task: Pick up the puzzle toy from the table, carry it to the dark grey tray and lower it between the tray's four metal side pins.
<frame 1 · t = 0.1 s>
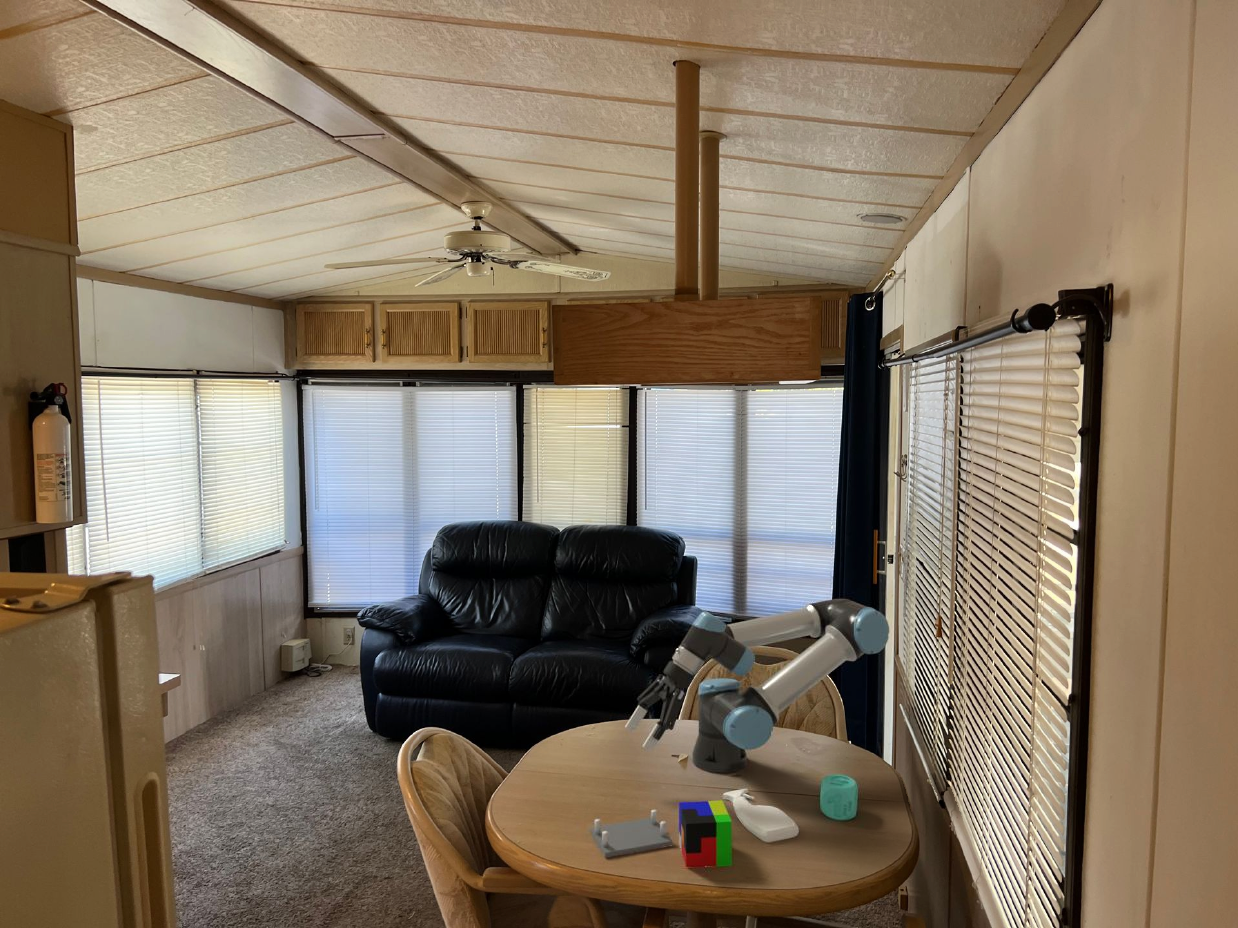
hand: (637, 739, 219), 15 cm above the table, tool tilted 35°, fingers open, 13 cm apart
pin tray: (630, 838, 200), on the table
puzzle toy: (704, 855, 193), on the table
decorative dice: (838, 813, 212), on the table
spray bottle: (756, 818, 210), on the table
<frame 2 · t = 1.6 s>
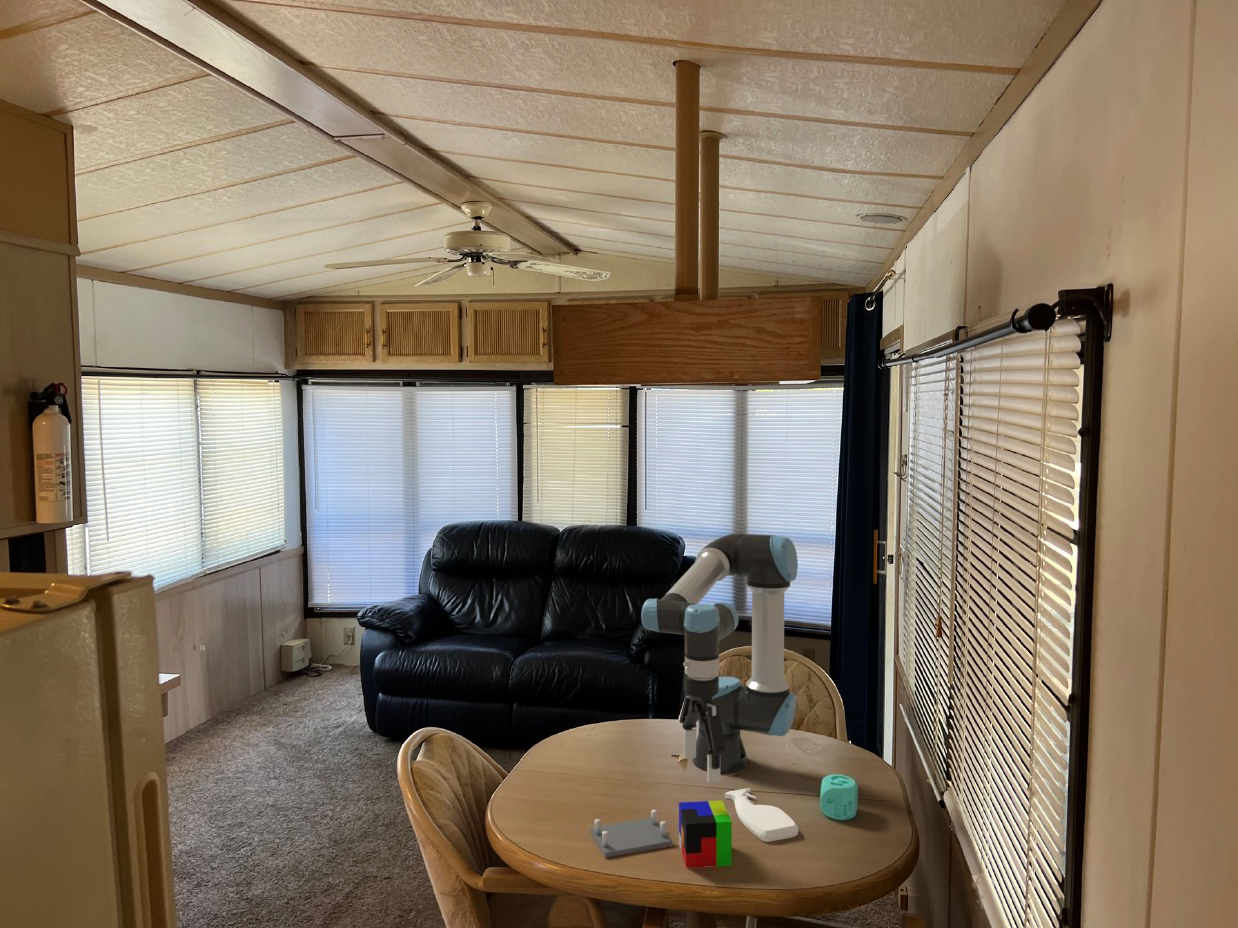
hand: (701, 769, 192), 19 cm above the table, tool pointing down, fingers open, 13 cm apart
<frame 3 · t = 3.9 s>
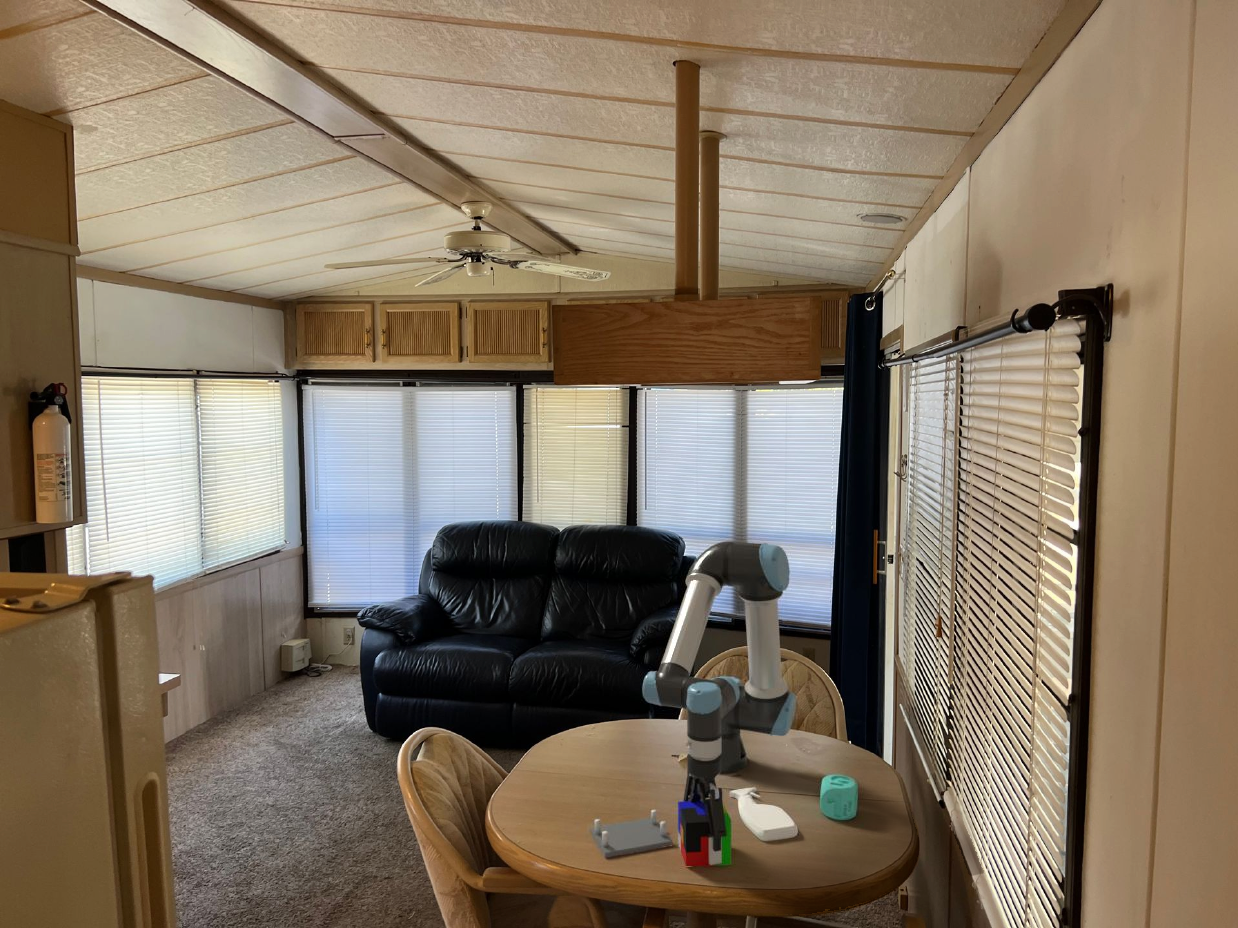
hand: (704, 849, 193), 1 cm above the table, tool pointing down, fingers closed on puzzle toy, 11 cm apart
puzzle toy: (704, 854, 193), on the table, touching gripper
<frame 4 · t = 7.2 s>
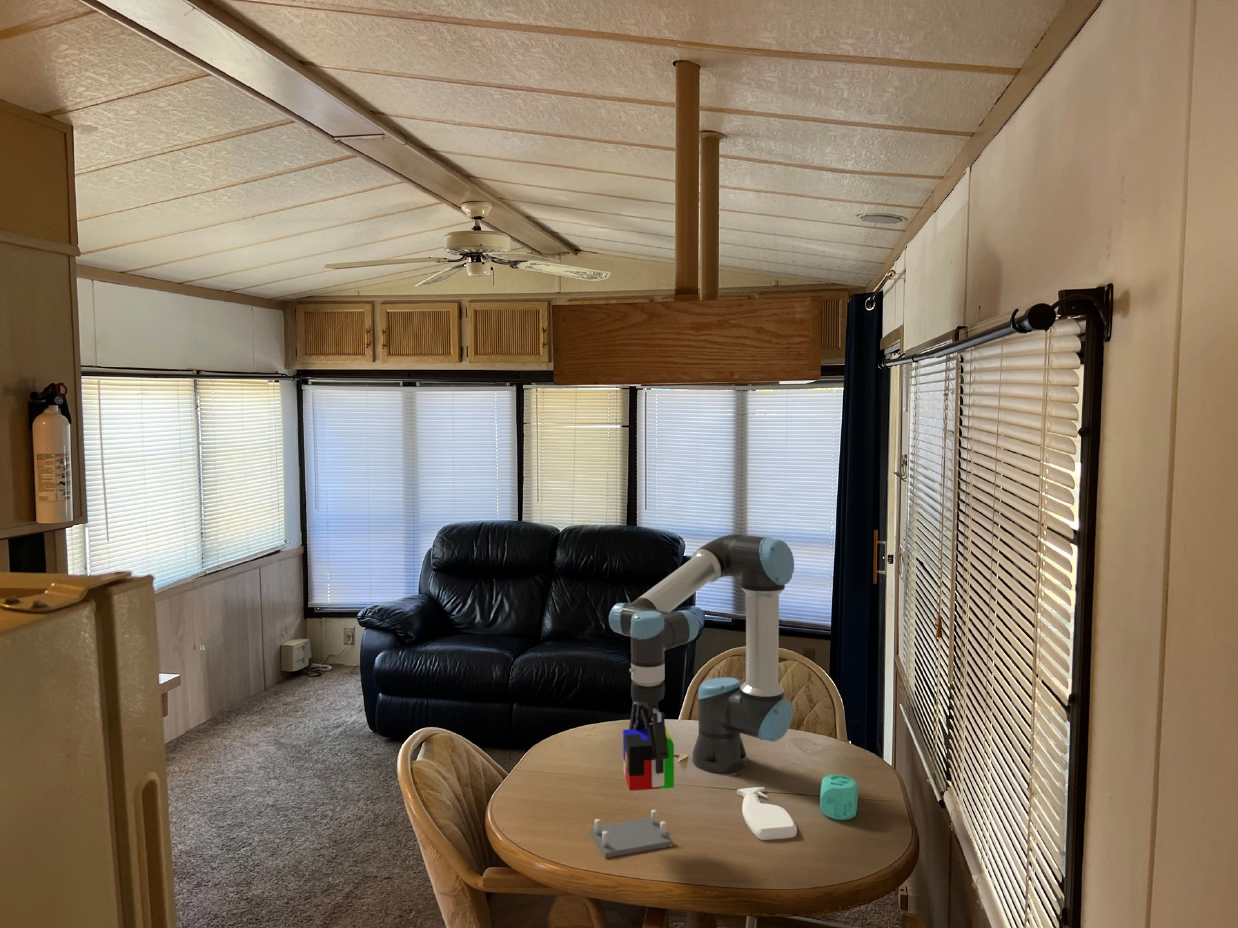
hand: (648, 775, 197), 16 cm above the table, tool pointing down, fingers closed on puzzle toy, 11 cm apart
puzzle toy: (648, 780, 197), point 15 cm above the table, touching gripper
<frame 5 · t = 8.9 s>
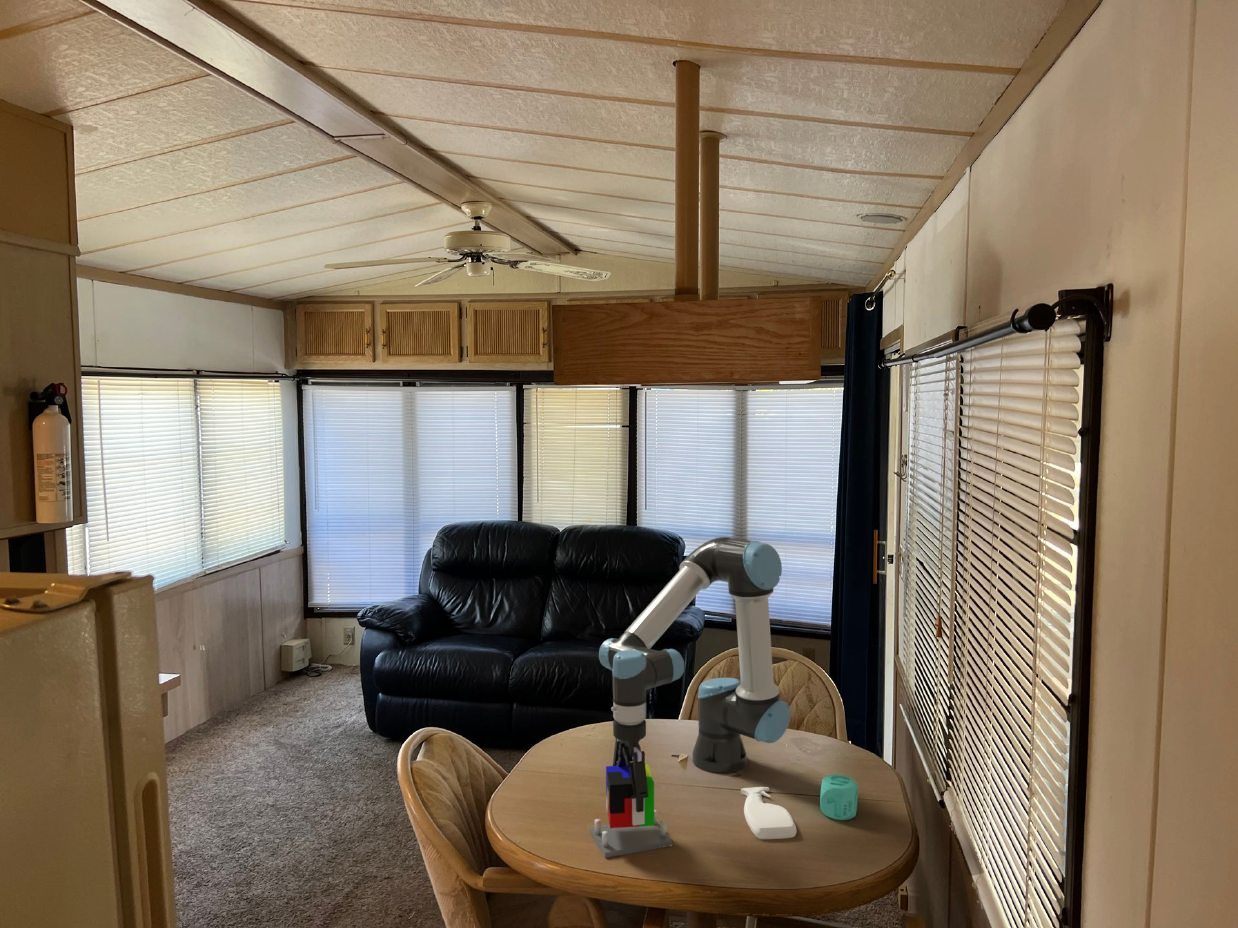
hand: (630, 812, 199), 6 cm above the table, tool pointing down, fingers closed on puzzle toy, 11 cm apart
puzzle toy: (629, 817, 199), point 5 cm above the table, touching gripper
when the fingers open (3 cm above the table, at t = 10.4 s): puzzle toy drops 1 cm, resting on pin tray.
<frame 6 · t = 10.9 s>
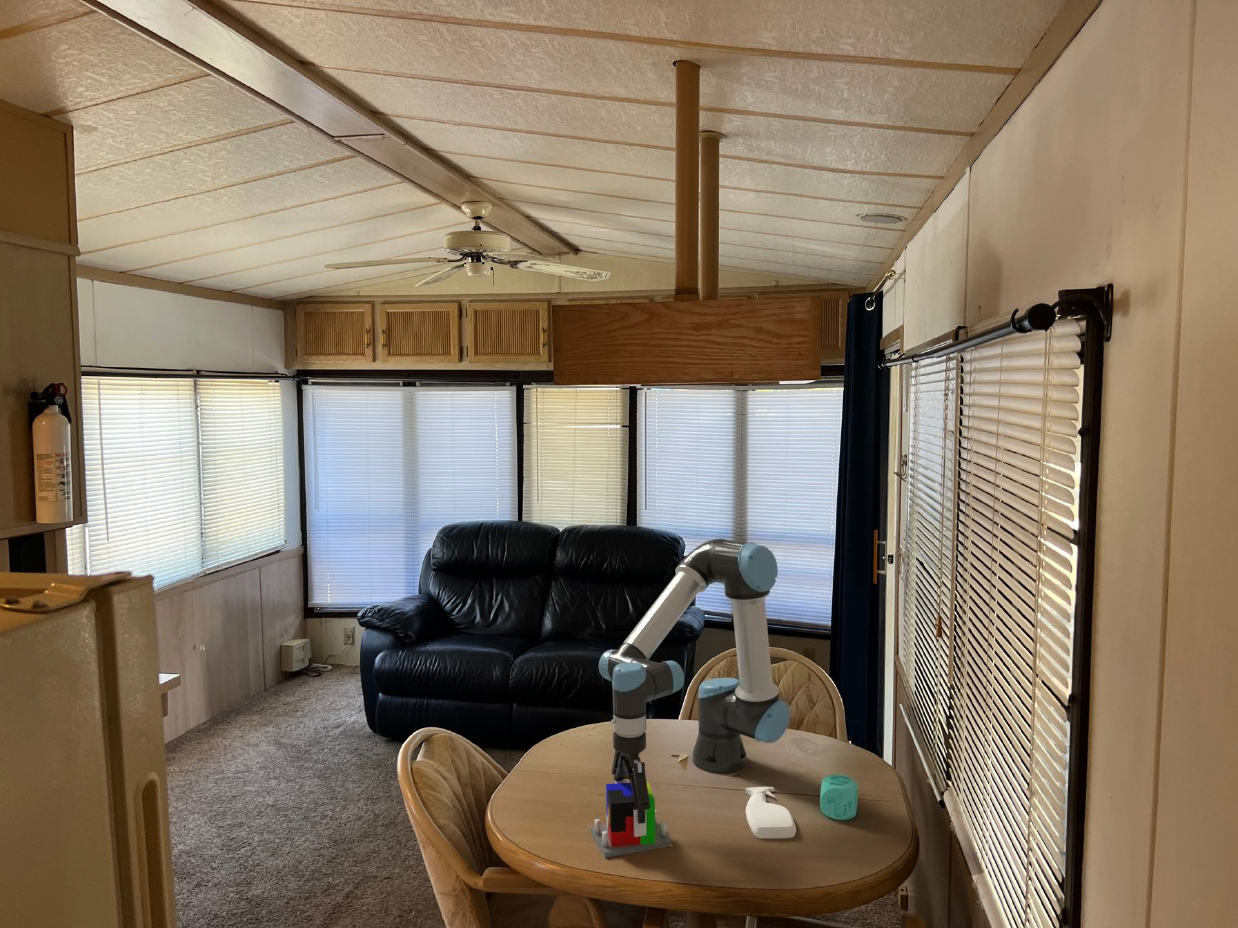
hand: (630, 821, 200), 4 cm above the table, tool pointing down, fingers open, 13 cm apart
puzzle toy: (630, 834, 200), point 1 cm above the table, touching pin tray
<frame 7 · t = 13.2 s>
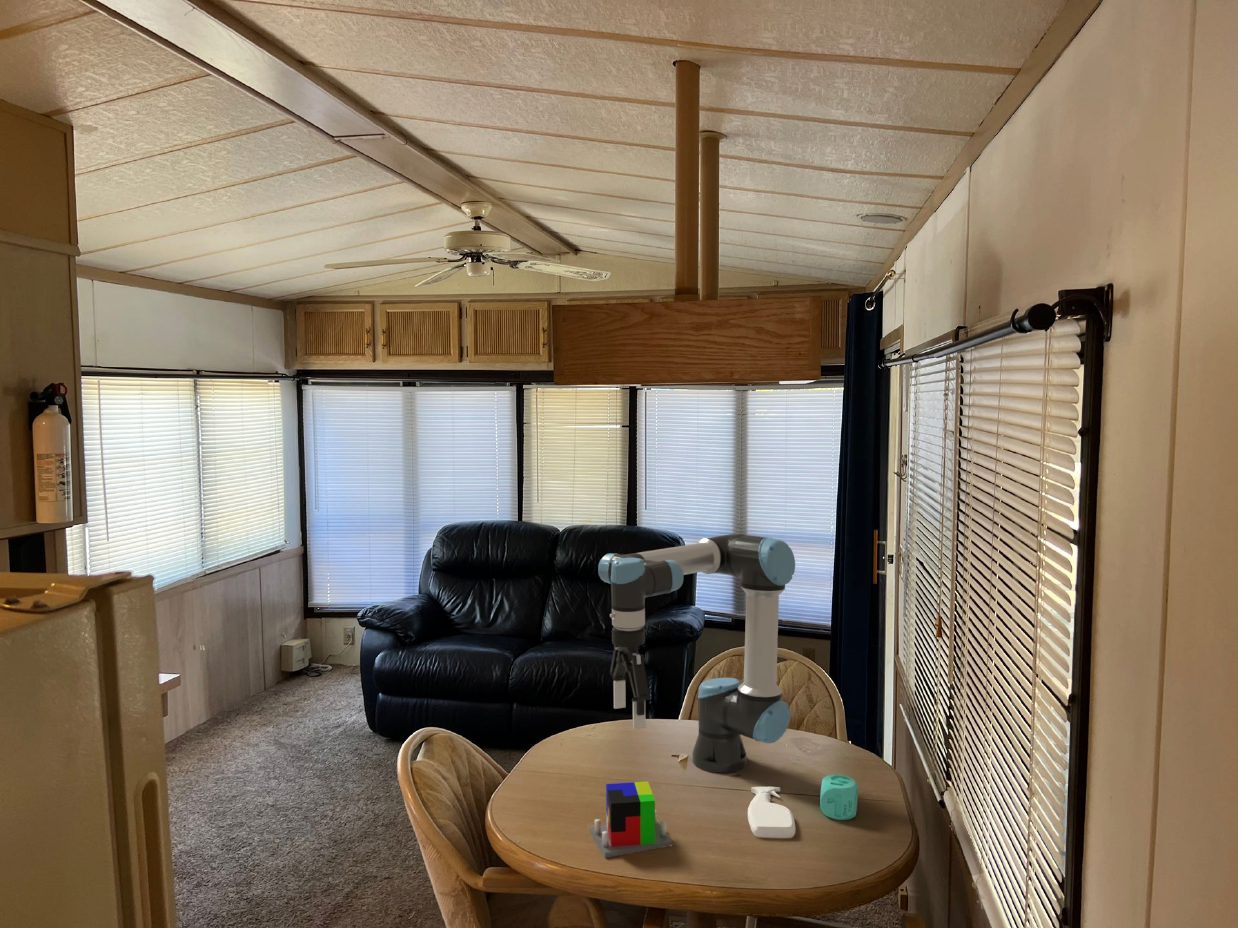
hand: (629, 717, 198), 29 cm above the table, tool pointing down, fingers open, 13 cm apart
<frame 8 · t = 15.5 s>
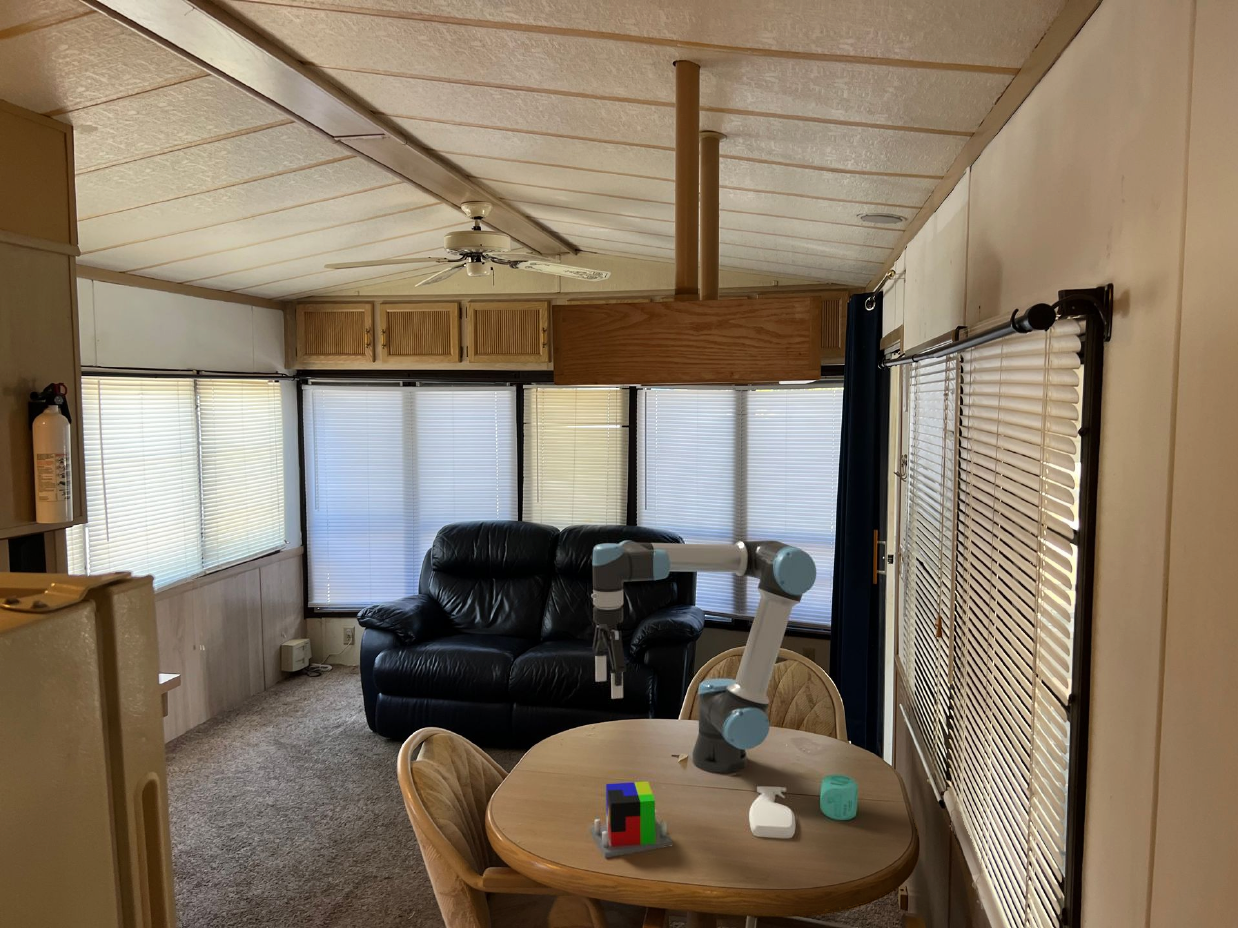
hand: (608, 689, 218), 29 cm above the table, tool pointing down, fingers open, 13 cm apart
at the end: puzzle toy 0.0 cm off-centre on the pin tray, point 1.0 cm above the pin tray's base; puzzle toy tilted 0°; the gripper is holding nothing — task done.
